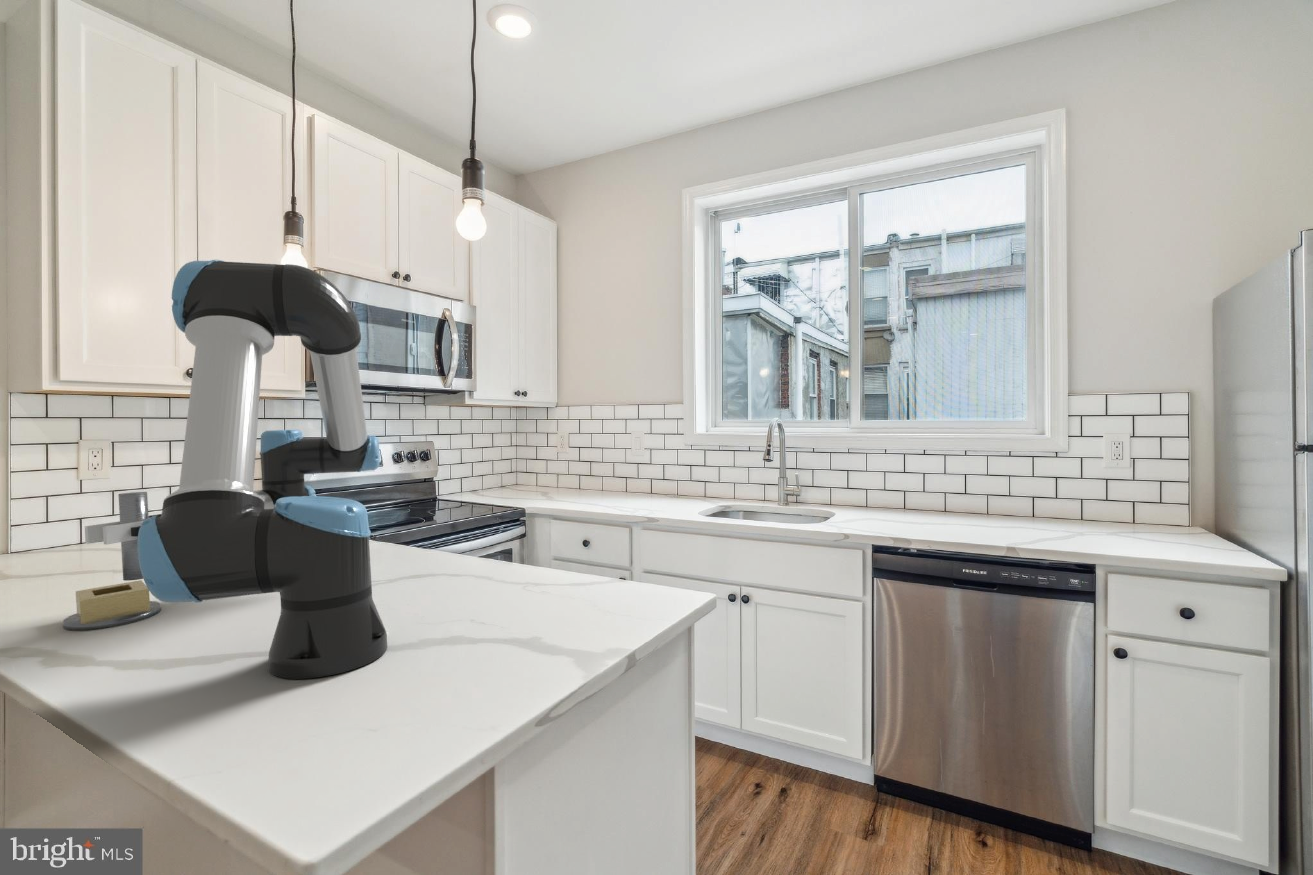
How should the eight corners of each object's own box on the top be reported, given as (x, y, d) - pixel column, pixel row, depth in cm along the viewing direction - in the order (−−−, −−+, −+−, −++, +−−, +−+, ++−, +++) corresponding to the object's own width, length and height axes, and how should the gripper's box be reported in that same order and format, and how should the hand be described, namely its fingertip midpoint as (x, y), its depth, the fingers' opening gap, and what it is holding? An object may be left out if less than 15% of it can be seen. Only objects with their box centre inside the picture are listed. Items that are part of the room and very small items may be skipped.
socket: (166, 615, 110) (165, 588, 110) (66, 636, 100) (64, 606, 100) (154, 601, 119) (152, 576, 118) (61, 619, 109) (59, 591, 109)
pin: (153, 577, 101) (148, 492, 101) (124, 581, 98) (119, 494, 98) (149, 573, 104) (145, 491, 103) (121, 578, 101) (117, 493, 101)
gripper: (273, 533, 115) (133, 561, 93) (209, 530, 121) (62, 557, 98) (271, 493, 115) (130, 512, 93) (207, 492, 120) (59, 510, 98)
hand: (96, 535), depth 96 cm, fingers closed on pin, 4 cm apart
